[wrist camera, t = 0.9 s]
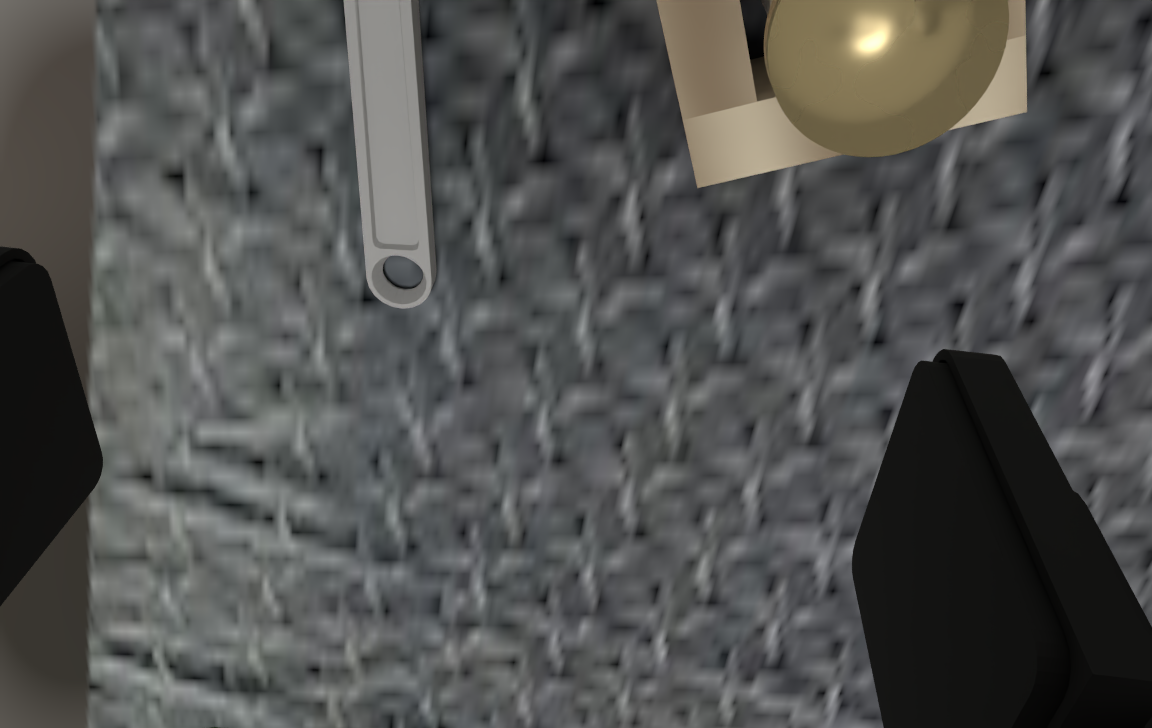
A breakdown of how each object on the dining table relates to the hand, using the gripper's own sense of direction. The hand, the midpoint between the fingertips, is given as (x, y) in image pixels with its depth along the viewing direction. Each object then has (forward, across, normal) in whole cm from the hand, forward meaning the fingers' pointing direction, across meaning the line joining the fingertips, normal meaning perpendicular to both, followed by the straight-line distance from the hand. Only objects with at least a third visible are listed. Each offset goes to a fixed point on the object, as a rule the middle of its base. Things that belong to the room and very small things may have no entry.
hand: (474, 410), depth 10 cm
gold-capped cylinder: (+24, -6, -1) cm, 25 cm away
